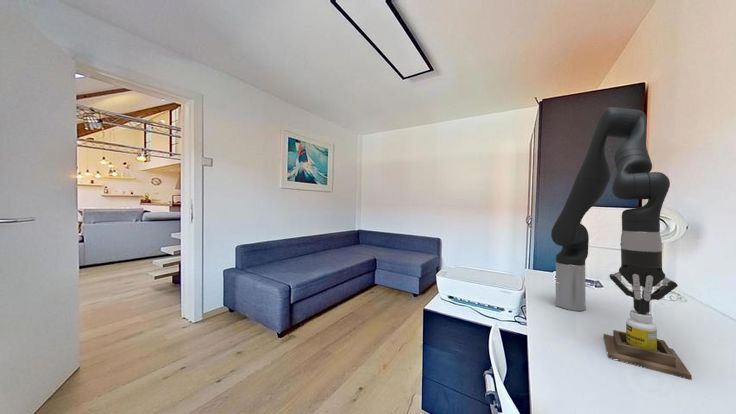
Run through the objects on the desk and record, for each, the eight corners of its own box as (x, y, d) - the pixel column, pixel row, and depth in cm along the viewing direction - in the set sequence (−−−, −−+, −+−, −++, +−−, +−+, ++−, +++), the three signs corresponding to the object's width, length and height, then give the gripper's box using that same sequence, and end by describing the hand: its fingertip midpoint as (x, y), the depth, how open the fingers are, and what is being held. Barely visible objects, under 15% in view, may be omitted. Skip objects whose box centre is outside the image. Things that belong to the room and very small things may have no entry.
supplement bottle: (620, 346, 72) (620, 309, 72) (639, 345, 73) (638, 308, 73) (643, 358, 67) (643, 318, 67) (663, 356, 67) (663, 317, 67)
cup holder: (608, 358, 68) (608, 344, 68) (603, 337, 79) (603, 325, 79) (691, 379, 60) (691, 364, 60) (673, 352, 71) (672, 339, 71)
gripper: (608, 247, 71) (609, 312, 71) (683, 252, 63) (684, 325, 62) (605, 244, 77) (606, 303, 77) (673, 248, 68) (674, 314, 68)
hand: (641, 313), depth 69 cm, fingers closed
